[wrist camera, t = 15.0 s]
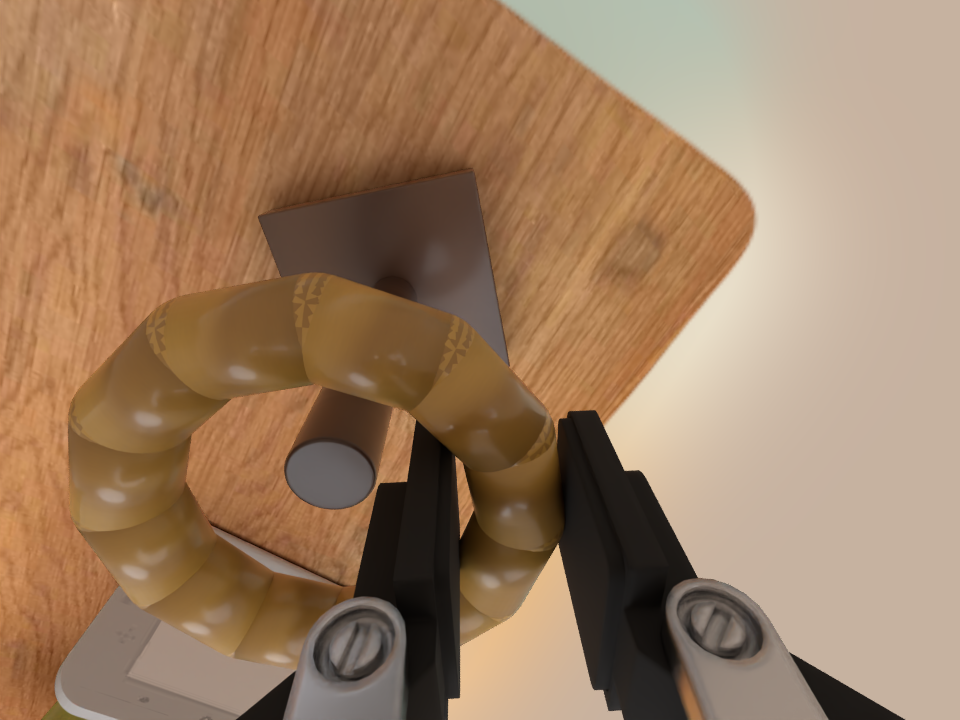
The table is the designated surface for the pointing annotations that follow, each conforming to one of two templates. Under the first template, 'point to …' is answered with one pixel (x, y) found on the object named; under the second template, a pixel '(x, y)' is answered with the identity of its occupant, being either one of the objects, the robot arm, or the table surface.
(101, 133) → the table surface
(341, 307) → the ring
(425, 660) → the robot arm
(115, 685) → the handheld gaming console
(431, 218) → the stand
